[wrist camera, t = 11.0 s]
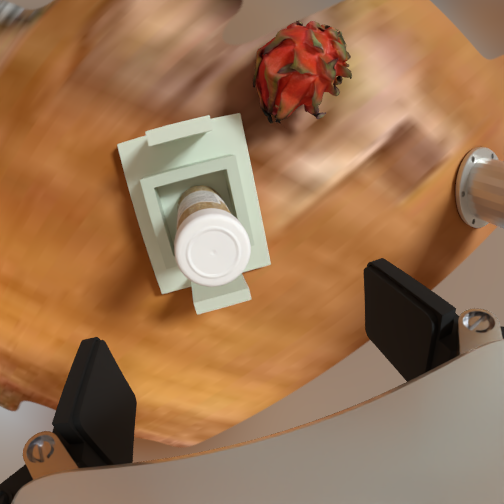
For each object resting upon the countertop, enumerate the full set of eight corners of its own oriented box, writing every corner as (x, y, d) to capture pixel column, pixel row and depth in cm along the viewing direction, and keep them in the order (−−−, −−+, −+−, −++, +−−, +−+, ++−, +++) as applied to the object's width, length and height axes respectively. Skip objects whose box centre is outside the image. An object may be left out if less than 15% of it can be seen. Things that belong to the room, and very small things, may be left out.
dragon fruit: (318, 40, 30) (261, 120, 34) (277, -6, 23) (208, 86, 27) (380, 62, 26) (316, 154, 29) (348, 6, 19) (266, 117, 22)
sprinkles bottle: (223, 227, 32) (253, 285, 20) (178, 231, 31) (178, 293, 19) (222, 181, 31) (251, 211, 18) (174, 185, 30) (170, 218, 17)
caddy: (237, 113, 30) (253, 106, 23) (268, 260, 36) (288, 288, 29) (119, 144, 28) (102, 145, 22) (162, 289, 34) (160, 324, 27)
